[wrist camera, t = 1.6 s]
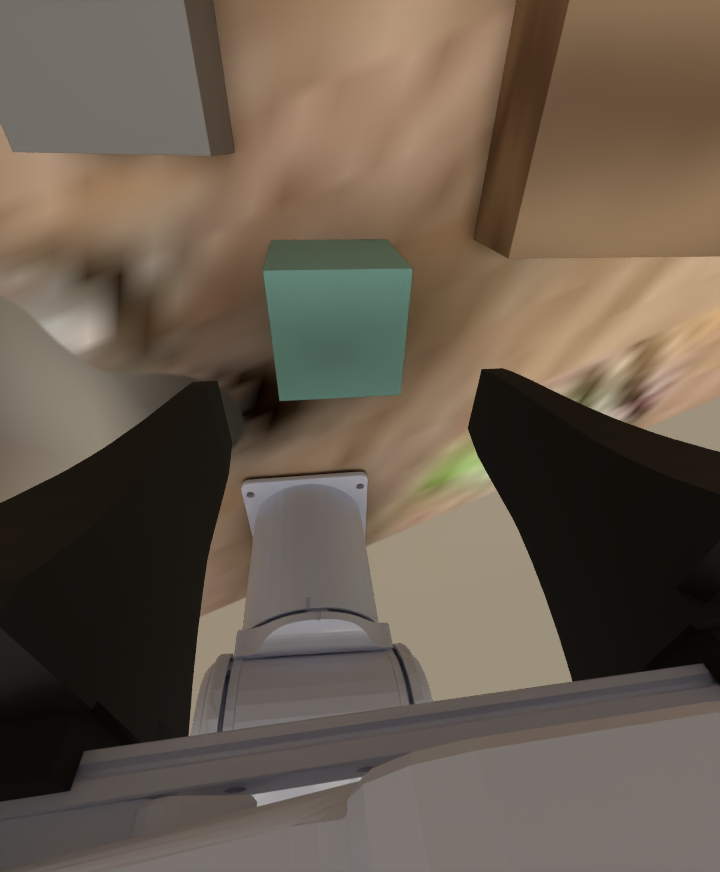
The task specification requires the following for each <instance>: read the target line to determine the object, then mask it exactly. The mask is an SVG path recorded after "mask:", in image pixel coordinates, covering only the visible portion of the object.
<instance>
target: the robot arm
mask: <svg viewBox="0 0 720 872" xmlns="http://www.w3.org/2000/svg"><path fill="white" fill-rule="evenodd" d="M468 430H469V433H470V436H471V439H472V442H473V444H474V447H475V450H476V452H477V455H478V457H479V459H480V461H481V463H482V464H483V466H484V468H485V470H486V472H487V474H488V475H489V477H490V479H491V481H492V483H493V484H494V486H495V488H496V490H497V491H498V493H499V495H500V497H501V498H502V500H503V502H504V504H505V506H506V507H507V509H508V511H509V513H510V514H511V516H512V518H513V520H514V522H515V524H516V526H517V528H518V530H519V532H520V535H521V537H522V539H523V542H524V544H525V546H526V549H527V551H528V553H529V556H530V558H531V560H532V563H533V566H534V568H535V571H536V574H537V576H538V579H539V581H540V584H541V587H542V589H543V592H544V594H545V597H546V600H547V603H548V606H549V609H550V611H551V615H552V617H553V620H554V623H555V626H556V629H557V632H558V635H559V638H560V641H561V645H562V648H563V651H564V654H565V657H566V660H567V664H568V668H569V671H570V674H571V677H572V681H573V682H567V683H560V684H553V685H546V686H540V687H532V688H525V689H519V690H511V691H504V692H497V693H490V694H483V695H476V696H469V697H462V698H455V699H448V700H440V701H433V700H432V696H431V692H430V688H429V685H428V682H427V679H426V676H425V673H424V671H423V669H422V667H421V665H420V663H419V662H418V660H417V659H416V658H415V657H414V656H413V655H412V653H411V652H410V650H409V649H408V648H407V647H406V646H405V645H403V644H401V643H398V644H392V640H391V634H390V629H389V624H388V623H378V617H377V611H376V606H375V599H374V593H373V588H372V582H371V575H370V569H369V563H368V557H367V551H366V545H365V533H366V509H367V486H368V479H367V475H366V473H364V472H348V473H335V474H321V475H307V476H293V477H279V478H266V479H252V480H245V481H244V482H243V483H242V486H241V491H242V495H243V499H244V503H245V508H246V512H247V516H248V520H249V524H250V529H251V533H252V537H253V544H252V552H251V561H250V570H249V578H248V587H247V596H246V604H245V613H244V622H243V630H239V631H238V632H237V636H236V644H235V653H234V657H233V654H222V655H220V656H219V657H218V658H217V660H216V662H215V663H214V664H213V665H212V666H211V667H210V668H209V669H208V670H207V671H206V673H205V675H204V677H203V680H202V683H201V687H200V690H199V694H198V699H197V703H196V708H195V713H194V718H193V724H192V730H191V736H188V735H189V721H190V709H191V696H192V684H193V673H194V662H195V654H196V643H197V634H198V625H199V618H200V610H201V601H202V594H203V587H204V580H205V573H206V566H207V559H208V554H209V550H210V545H211V541H212V537H213V533H214V529H215V526H216V522H217V518H218V514H219V510H220V507H221V503H222V499H223V495H224V491H225V487H226V483H227V479H228V475H229V468H230V459H231V448H232V441H231V436H230V432H229V428H228V424H227V419H226V415H225V411H224V406H223V403H222V398H221V394H220V389H219V385H218V381H206V382H193V383H191V384H189V385H188V386H187V387H185V388H184V389H183V390H181V391H180V392H179V393H177V394H176V395H175V396H174V397H172V398H171V399H170V400H169V401H168V402H166V403H165V404H164V405H162V406H161V407H160V408H158V409H157V410H156V411H155V412H153V413H152V414H151V415H150V416H148V417H147V418H146V419H144V420H143V421H142V422H140V423H139V424H138V425H136V426H135V427H133V428H132V429H130V430H129V431H128V432H126V433H125V434H123V435H122V436H121V437H119V438H118V439H116V440H115V441H114V442H112V443H111V444H109V445H108V446H106V447H105V448H103V449H101V450H100V451H98V452H97V453H95V454H93V455H92V456H90V457H88V458H87V459H85V460H83V461H82V462H80V463H78V464H76V465H75V466H73V467H71V468H70V469H68V470H66V471H64V472H62V473H60V474H59V475H57V476H55V477H53V478H51V479H49V480H46V481H44V482H43V483H40V484H39V485H36V486H34V487H33V488H30V489H28V490H26V491H24V492H22V493H20V494H19V495H16V496H14V497H12V498H10V499H8V500H6V501H4V502H1V503H0V872H720V452H718V451H714V450H710V449H706V448H703V447H699V446H696V445H692V444H689V443H685V442H682V441H678V440H674V439H672V438H668V437H665V436H662V435H659V434H655V433H653V432H650V431H647V430H644V429H642V428H639V427H636V426H633V425H630V424H627V423H625V422H622V421H620V420H617V419H614V418H612V417H609V416H607V415H605V414H602V413H600V412H598V411H595V410H593V409H591V408H588V407H586V406H584V405H582V404H580V403H577V402H575V401H573V400H571V399H569V398H567V397H565V396H563V395H560V394H558V393H556V392H554V391H552V390H550V389H548V388H546V387H544V386H542V385H540V384H538V383H536V382H534V381H532V380H530V379H527V378H525V377H523V376H521V375H519V374H516V373H514V372H512V371H509V370H506V369H503V368H500V369H482V370H481V374H480V379H479V383H478V387H477V391H476V396H475V400H474V404H473V409H472V413H471V417H470V421H469V426H468ZM358 484H362V485H358ZM248 492H253V493H248Z"/></svg>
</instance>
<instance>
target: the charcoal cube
mask: <svg viewBox="0 0 720 872" xmlns="http://www.w3.org/2000/svg"><path fill="white" fill-rule="evenodd" d="M0 123H1V125H2V128H3V130H4V132H5V135H6V137H7V139H8V142H9V144H10V146H11V149H12V151H13V152H39V153H89V154H139V155H190V156H214V155H221V154H227V153H234V152H235V150H234V143H233V136H232V129H231V122H230V115H229V108H228V101H227V94H226V88H225V81H224V74H223V67H222V60H221V53H220V46H219V39H218V32H217V25H216V18H215V11H214V4H213V0H0Z"/></svg>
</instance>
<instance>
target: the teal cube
mask: <svg viewBox="0 0 720 872" xmlns="http://www.w3.org/2000/svg"><path fill="white" fill-rule="evenodd" d="M412 271H413V268H412V267H411V266H410V265H409V264H408V263H407V262H406V261H405V259H404V258H403V257H402V256H401V255H400V254H399V253H398V252H397V250H396V249H395V248H394V247H393V246H392V245H391V244H390V243H389V241H388V240H271V244H270V247H269V251H268V255H267V258H266V262H265V265H264V269H263V275H264V282H265V290H266V298H267V306H268V314H269V322H270V329H271V337H272V345H273V353H274V361H275V369H276V376H277V384H278V392H279V400H280V401H289V400H309V399H329V398H349V397H368V396H388V395H401V386H402V375H403V365H404V355H405V344H406V334H407V323H408V313H409V302H410V292H411V282H412Z"/></svg>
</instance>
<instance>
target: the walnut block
mask: <svg viewBox="0 0 720 872" xmlns="http://www.w3.org/2000/svg"><path fill="white" fill-rule="evenodd" d="M474 239H475V240H476V241H478V242H480V243H482V244H484V245H485V246H487V247H489V248H491V249H492V250H494V251H496V252H498V253H500V254H501V255H503V256H505V257H507V258H604V257H701V256H720V0H516V6H515V12H514V17H513V23H512V28H511V34H510V39H509V45H508V51H507V56H506V62H505V67H504V73H503V78H502V84H501V90H500V95H499V101H498V106H497V112H496V117H495V123H494V129H493V134H492V140H491V145H490V151H489V157H488V162H487V168H486V173H485V179H484V184H483V190H482V196H481V201H480V207H479V212H478V218H477V223H476V229H475V235H474Z"/></svg>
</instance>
